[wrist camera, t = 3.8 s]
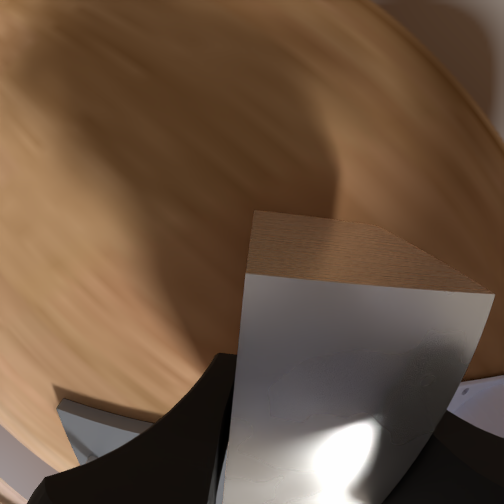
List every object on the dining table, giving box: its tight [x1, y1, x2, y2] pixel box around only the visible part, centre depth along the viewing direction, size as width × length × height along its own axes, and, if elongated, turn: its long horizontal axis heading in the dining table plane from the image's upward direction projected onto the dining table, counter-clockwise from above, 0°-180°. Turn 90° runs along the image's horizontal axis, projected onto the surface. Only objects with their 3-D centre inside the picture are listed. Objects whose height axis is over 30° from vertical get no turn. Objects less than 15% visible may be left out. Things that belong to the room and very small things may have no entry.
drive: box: [223, 210, 495, 504], centre depth 8 cm, size 4×10×6 cm, turn 174°
